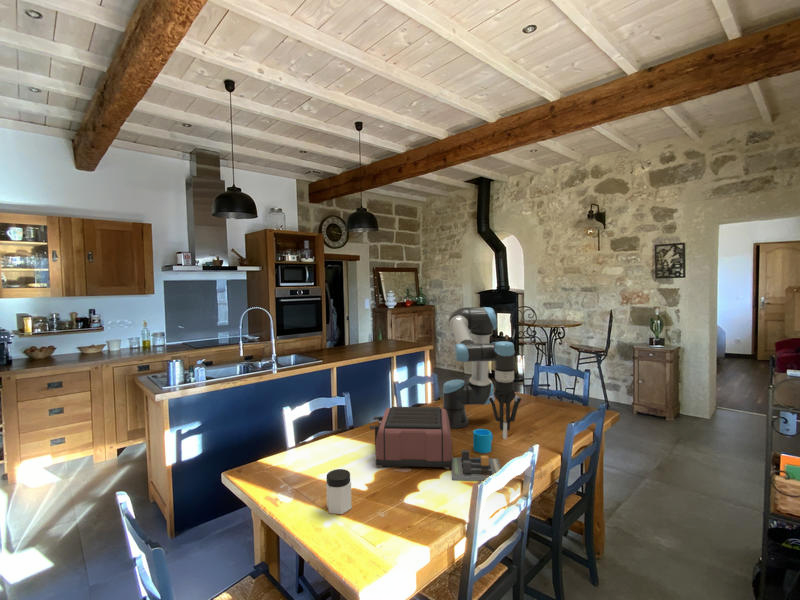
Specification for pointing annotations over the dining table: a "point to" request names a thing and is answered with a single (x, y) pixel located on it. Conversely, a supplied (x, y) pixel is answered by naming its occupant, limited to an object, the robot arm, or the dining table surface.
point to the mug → (482, 440)
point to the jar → (338, 491)
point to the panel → (473, 469)
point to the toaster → (413, 437)
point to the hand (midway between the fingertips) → (504, 437)
